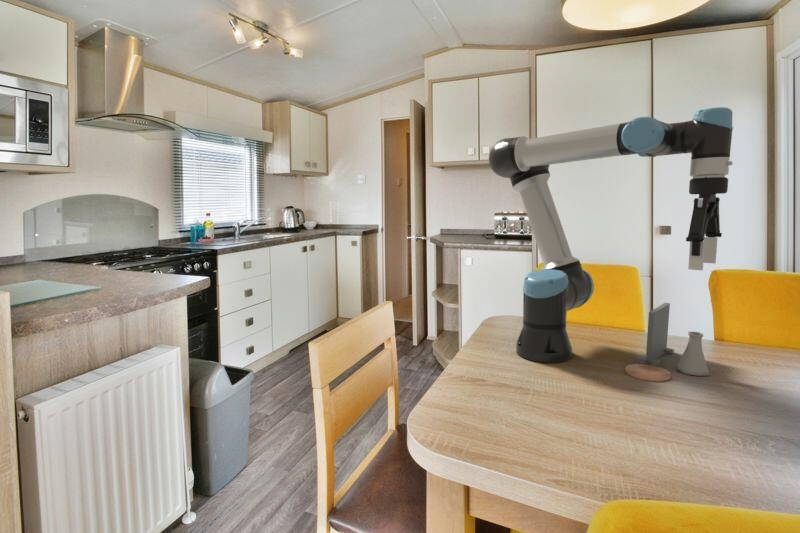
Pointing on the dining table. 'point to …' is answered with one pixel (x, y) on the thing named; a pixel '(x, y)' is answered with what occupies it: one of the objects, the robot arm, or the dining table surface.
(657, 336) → the screen
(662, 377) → the coaster
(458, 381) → the dining table surface
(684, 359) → the flask
